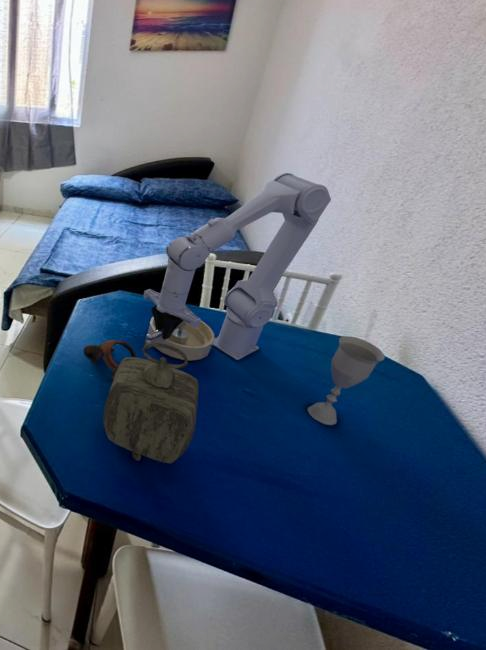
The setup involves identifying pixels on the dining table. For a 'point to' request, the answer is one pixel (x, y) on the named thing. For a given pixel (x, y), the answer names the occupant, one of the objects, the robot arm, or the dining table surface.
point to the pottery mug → (106, 353)
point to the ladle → (176, 337)
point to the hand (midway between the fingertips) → (162, 335)
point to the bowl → (188, 341)
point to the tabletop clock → (152, 407)
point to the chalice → (347, 373)
